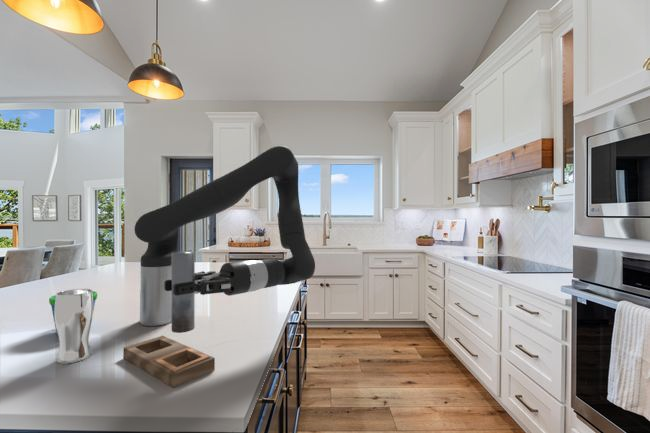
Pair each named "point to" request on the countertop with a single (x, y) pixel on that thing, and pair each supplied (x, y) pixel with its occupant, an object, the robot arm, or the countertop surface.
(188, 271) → the metal peg
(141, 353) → the wooden peg holder
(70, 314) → the beer glass
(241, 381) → the countertop surface
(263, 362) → the countertop surface
